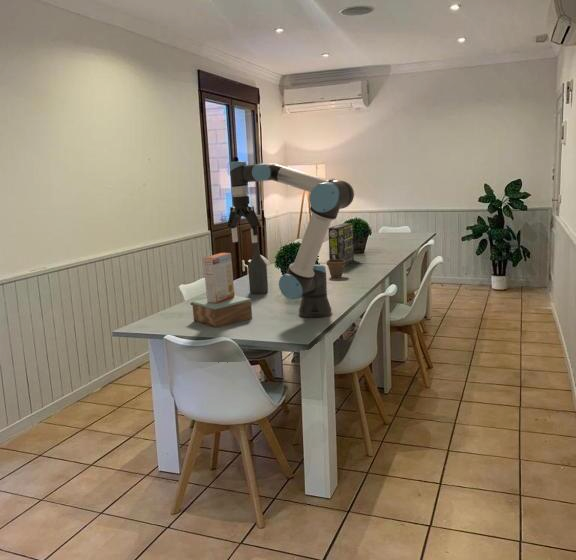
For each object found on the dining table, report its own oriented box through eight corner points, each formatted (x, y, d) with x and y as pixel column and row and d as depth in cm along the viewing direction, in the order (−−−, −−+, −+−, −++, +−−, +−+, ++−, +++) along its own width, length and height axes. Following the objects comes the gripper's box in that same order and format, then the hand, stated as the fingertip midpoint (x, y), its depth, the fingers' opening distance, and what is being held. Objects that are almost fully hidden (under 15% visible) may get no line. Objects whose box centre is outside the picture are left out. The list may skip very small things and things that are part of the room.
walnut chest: (252, 318, 269) (251, 299, 267) (215, 327, 255) (214, 308, 254) (228, 311, 283) (226, 294, 281) (192, 320, 270) (190, 302, 268)
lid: (250, 300, 267) (250, 298, 267) (214, 309, 254) (214, 307, 254) (227, 295, 280) (227, 293, 280) (192, 303, 267) (192, 301, 267)
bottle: (251, 290, 330) (247, 237, 324) (268, 290, 329) (265, 237, 323) (249, 294, 319) (245, 240, 314) (267, 293, 319) (263, 239, 313)
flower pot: (350, 276, 355) (349, 260, 353) (337, 279, 348) (336, 262, 346) (336, 274, 364) (335, 258, 362) (323, 277, 356) (322, 261, 354)
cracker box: (224, 296, 275) (221, 252, 271) (235, 297, 272) (231, 252, 268) (206, 302, 263) (202, 257, 259) (216, 303, 260) (213, 257, 256)
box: (344, 260, 417) (343, 222, 412) (354, 260, 414) (353, 222, 409) (329, 268, 387) (327, 228, 382) (340, 268, 384) (338, 228, 379)
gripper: (265, 194, 259) (269, 241, 263) (229, 196, 277) (233, 240, 281) (252, 195, 254) (257, 244, 258) (217, 197, 272) (221, 242, 275)
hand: (244, 242), depth 269 cm, fingers open, 13 cm apart
